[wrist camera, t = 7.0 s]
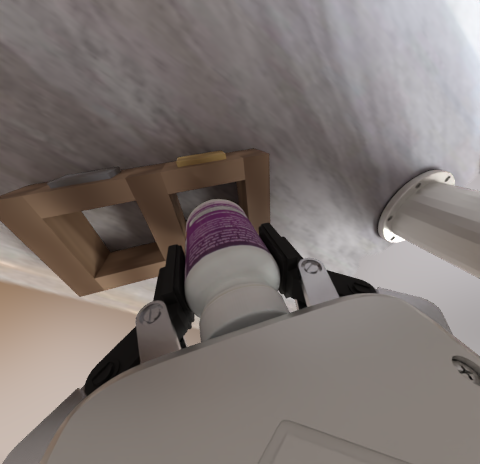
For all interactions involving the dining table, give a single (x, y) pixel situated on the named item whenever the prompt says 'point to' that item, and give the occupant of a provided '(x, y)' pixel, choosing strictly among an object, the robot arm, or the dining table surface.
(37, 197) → the socket block
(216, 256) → the pill bottle
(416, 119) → the dining table surface
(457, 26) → the dining table surface
